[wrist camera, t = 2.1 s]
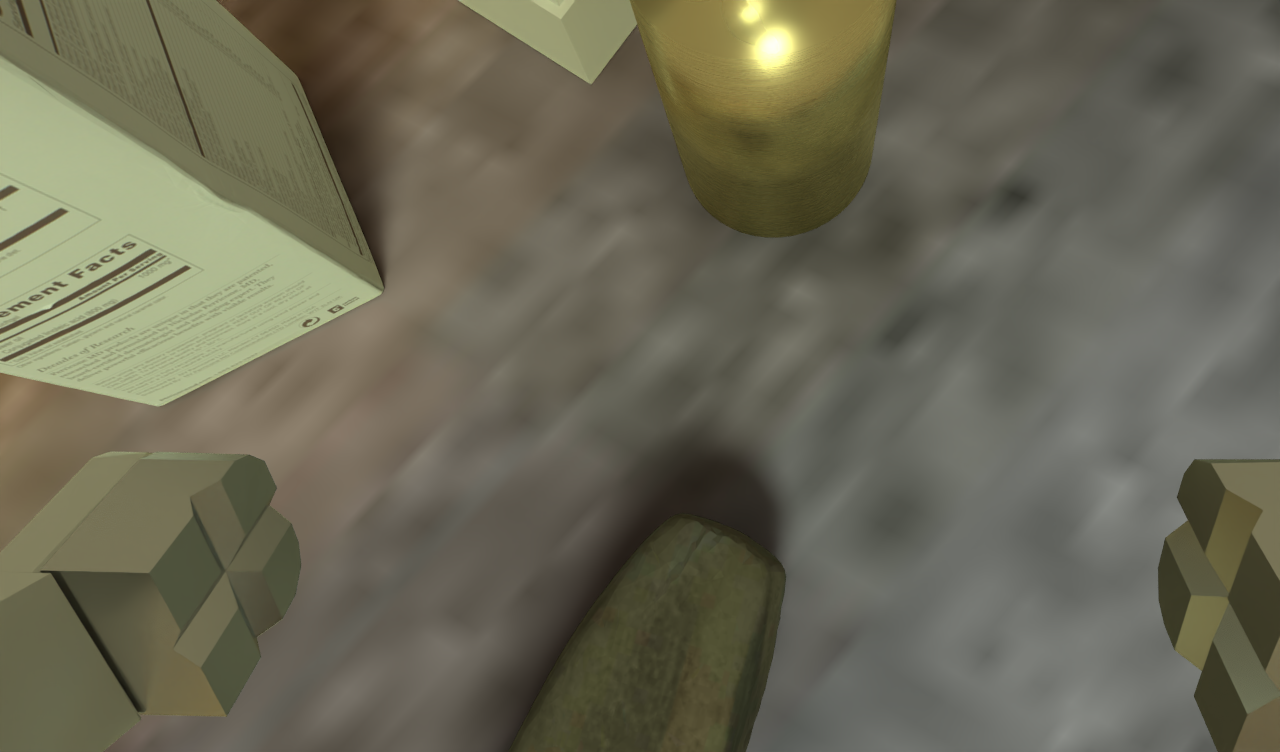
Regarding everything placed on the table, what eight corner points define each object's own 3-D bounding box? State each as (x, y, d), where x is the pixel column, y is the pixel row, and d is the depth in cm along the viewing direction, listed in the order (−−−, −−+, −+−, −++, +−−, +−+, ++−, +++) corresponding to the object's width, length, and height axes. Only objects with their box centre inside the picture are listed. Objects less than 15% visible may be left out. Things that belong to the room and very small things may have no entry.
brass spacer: (911, 120, 30) (968, -125, 19) (799, 273, 29) (793, 111, 19) (755, 29, 31) (726, -245, 20) (647, 174, 31) (561, -28, 20)
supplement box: (81, 186, 35) (-569, -144, 18) (299, 68, 34) (-173, -384, 18) (157, 418, 32) (-510, 278, 16) (393, 297, 32) (-52, 21, 15)
